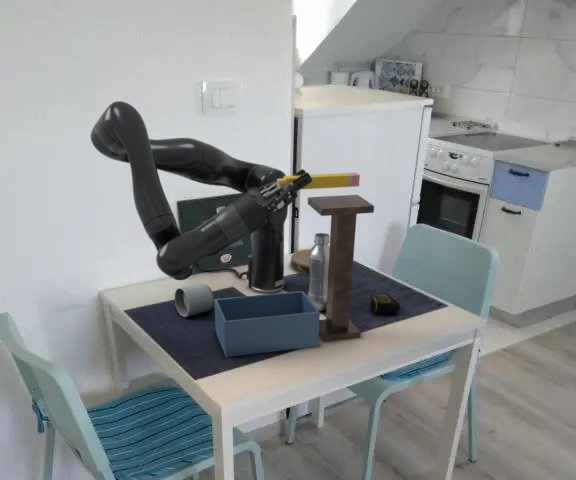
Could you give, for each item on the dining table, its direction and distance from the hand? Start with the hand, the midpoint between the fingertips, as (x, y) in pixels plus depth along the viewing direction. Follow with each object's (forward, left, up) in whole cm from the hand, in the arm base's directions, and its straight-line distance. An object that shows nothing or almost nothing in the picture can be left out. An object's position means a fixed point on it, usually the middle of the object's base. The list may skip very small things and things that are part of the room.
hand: (307, 174), depth 131 cm
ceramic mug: (-32, 0, -38) cm, 50 cm away
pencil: (+2, +2, -3) cm, 4 cm away
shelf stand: (+6, +5, -38) cm, 39 cm away
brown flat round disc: (-16, +46, -38) cm, 62 cm away
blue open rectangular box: (-7, -6, -38) cm, 39 cm away
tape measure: (+13, +24, -38) cm, 47 cm away
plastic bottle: (-3, +17, -38) cm, 42 cm away
